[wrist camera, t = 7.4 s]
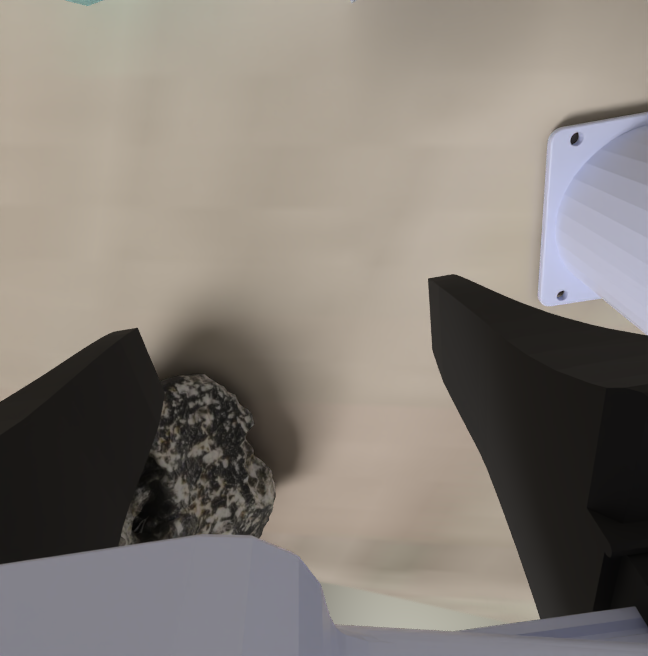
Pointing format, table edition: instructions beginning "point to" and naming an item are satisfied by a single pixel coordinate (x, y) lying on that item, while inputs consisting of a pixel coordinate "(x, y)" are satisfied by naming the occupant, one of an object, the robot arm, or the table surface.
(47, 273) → the table surface
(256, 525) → the rock
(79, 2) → the teal slab
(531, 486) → the robot arm
